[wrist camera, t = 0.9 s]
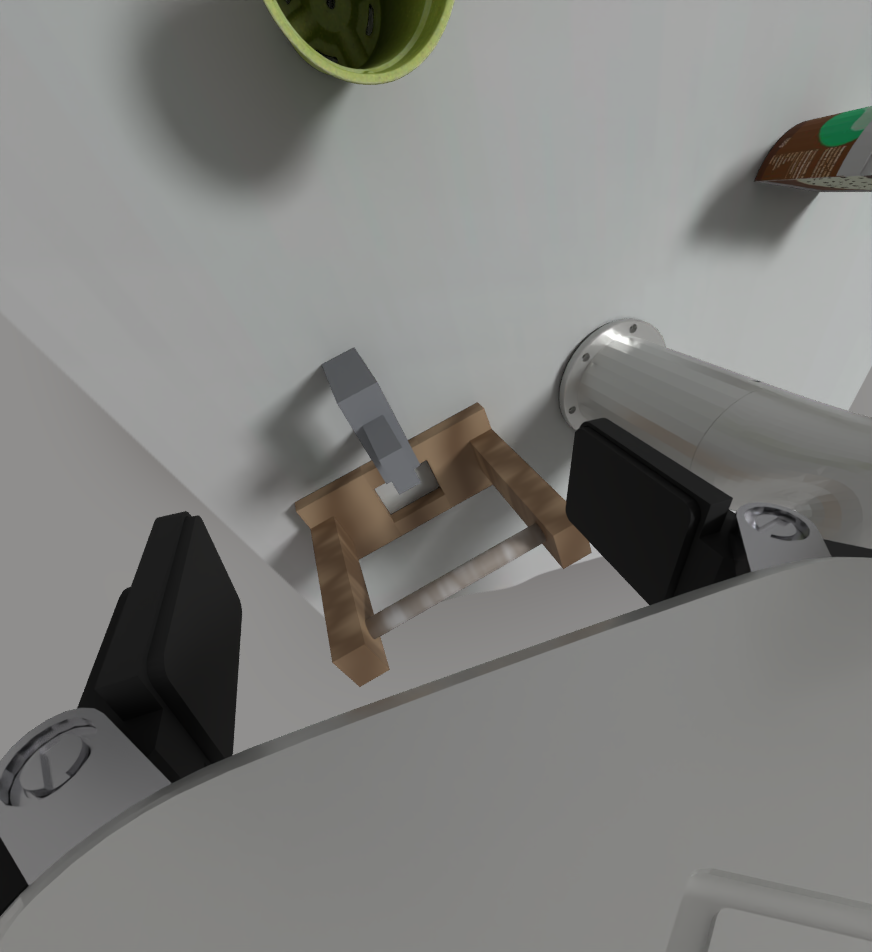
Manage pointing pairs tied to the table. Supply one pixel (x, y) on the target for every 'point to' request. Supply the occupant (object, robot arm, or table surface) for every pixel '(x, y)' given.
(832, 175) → the food container
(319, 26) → the plant pot
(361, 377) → the stepped gray bar
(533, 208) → the table surface
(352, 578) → the rack
